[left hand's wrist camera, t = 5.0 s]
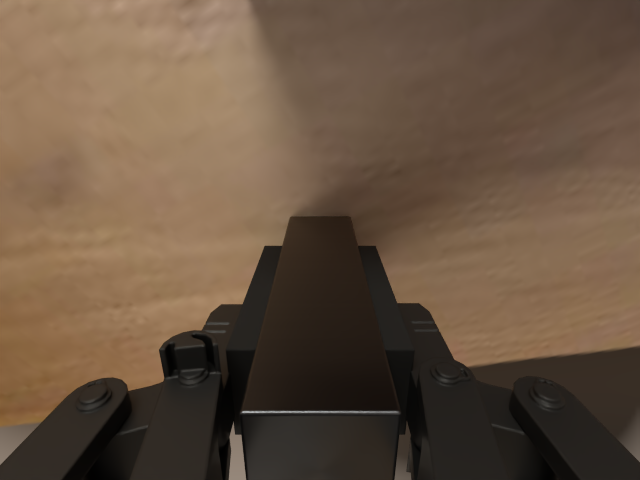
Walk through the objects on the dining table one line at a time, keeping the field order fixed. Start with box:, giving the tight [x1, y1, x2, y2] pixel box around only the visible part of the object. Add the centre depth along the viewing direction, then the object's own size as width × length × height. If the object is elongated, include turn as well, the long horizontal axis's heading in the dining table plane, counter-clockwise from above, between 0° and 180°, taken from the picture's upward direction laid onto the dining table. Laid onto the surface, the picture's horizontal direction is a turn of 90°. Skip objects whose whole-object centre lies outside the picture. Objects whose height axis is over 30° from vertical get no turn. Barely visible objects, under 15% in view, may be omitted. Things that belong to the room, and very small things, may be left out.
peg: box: [239, 217, 401, 480], centre depth 13 cm, size 3×3×12 cm
